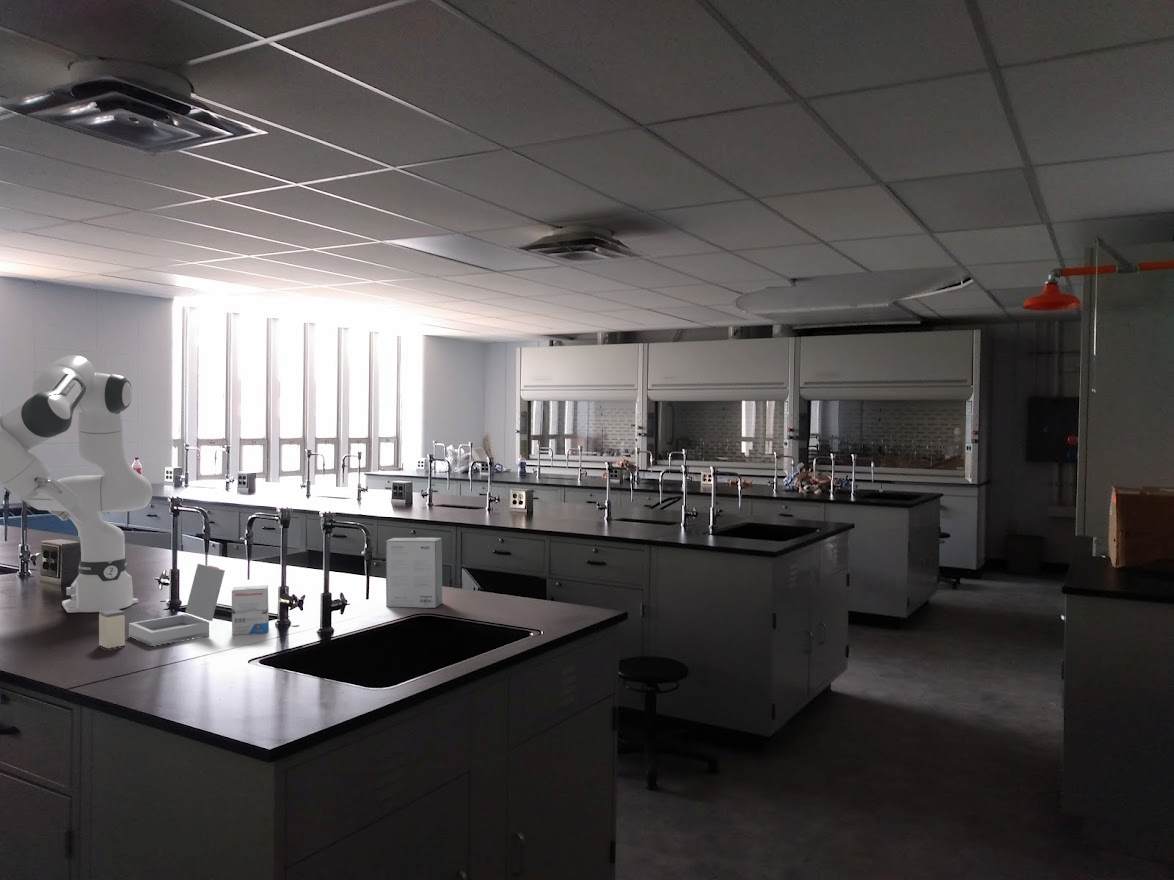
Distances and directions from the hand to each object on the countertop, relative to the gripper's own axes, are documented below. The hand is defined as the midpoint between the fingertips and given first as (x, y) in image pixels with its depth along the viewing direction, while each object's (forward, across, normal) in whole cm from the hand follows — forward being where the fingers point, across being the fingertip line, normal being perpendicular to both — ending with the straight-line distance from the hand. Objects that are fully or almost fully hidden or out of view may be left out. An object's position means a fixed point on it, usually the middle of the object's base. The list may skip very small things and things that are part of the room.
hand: (75, 519), depth 194 cm
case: (+37, -1, +7) cm, 38 cm away
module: (+28, +1, +16) cm, 33 cm away
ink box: (+48, -13, -4) cm, 50 cm away
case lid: (+36, -2, -7) cm, 36 cm away
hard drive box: (+81, -22, -38) cm, 92 cm away
